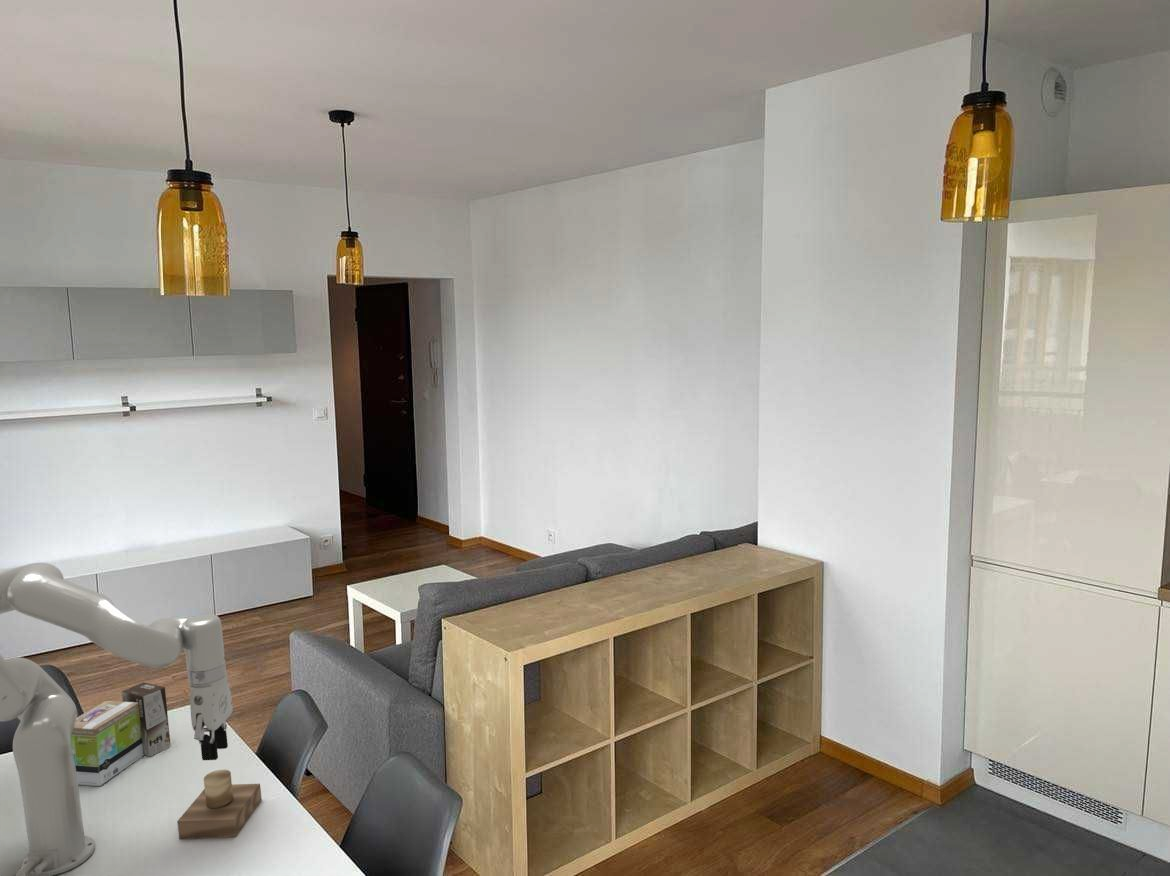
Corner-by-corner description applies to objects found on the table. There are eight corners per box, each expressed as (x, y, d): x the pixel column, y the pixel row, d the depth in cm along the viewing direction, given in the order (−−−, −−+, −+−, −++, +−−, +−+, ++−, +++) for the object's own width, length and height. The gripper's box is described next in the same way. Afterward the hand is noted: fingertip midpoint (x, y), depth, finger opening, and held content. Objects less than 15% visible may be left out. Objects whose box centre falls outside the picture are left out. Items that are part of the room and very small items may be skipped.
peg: (228, 823, 181) (224, 782, 180) (203, 824, 181) (199, 783, 180) (238, 809, 186) (235, 769, 185) (214, 810, 186) (210, 769, 185)
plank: (235, 836, 177) (233, 819, 176) (179, 838, 177) (177, 821, 176) (261, 800, 191) (260, 783, 190) (209, 801, 191) (207, 785, 190)
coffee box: (172, 746, 218) (166, 686, 216) (149, 757, 213) (142, 696, 211) (150, 739, 223) (144, 681, 221) (126, 750, 217) (120, 690, 215)
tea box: (102, 787, 199) (95, 728, 197) (65, 785, 201) (57, 726, 199) (145, 755, 214) (139, 700, 212) (110, 753, 216) (104, 699, 214)
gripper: (206, 689, 171) (215, 773, 174) (240, 657, 188) (248, 734, 190) (170, 690, 171) (179, 774, 174) (207, 658, 188) (215, 735, 190)
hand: (215, 752), depth 182 cm, fingers open, 4 cm apart
